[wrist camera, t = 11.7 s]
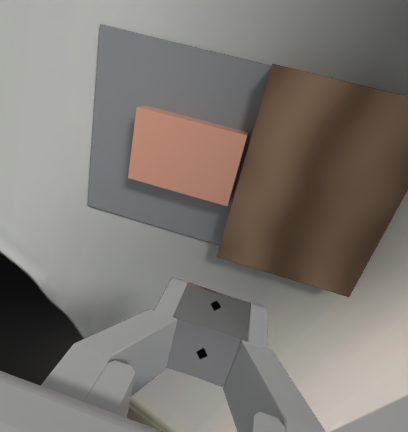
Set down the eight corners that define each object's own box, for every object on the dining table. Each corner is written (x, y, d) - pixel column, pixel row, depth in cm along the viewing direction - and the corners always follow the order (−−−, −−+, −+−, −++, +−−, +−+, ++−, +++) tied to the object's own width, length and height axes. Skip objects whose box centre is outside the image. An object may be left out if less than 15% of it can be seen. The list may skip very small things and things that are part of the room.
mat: (272, 66, 23) (272, 66, 23) (220, 243, 30) (220, 245, 29) (101, 24, 24) (99, 24, 24) (89, 204, 31) (87, 205, 31)
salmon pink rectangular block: (248, 132, 25) (247, 135, 23) (230, 198, 27) (227, 206, 26) (146, 105, 26) (136, 106, 24) (137, 172, 28) (128, 177, 26)
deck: (433, 105, 22) (452, 107, 20) (342, 280, 29) (349, 297, 26) (272, 66, 23) (272, 63, 21) (220, 243, 30) (216, 256, 27)
